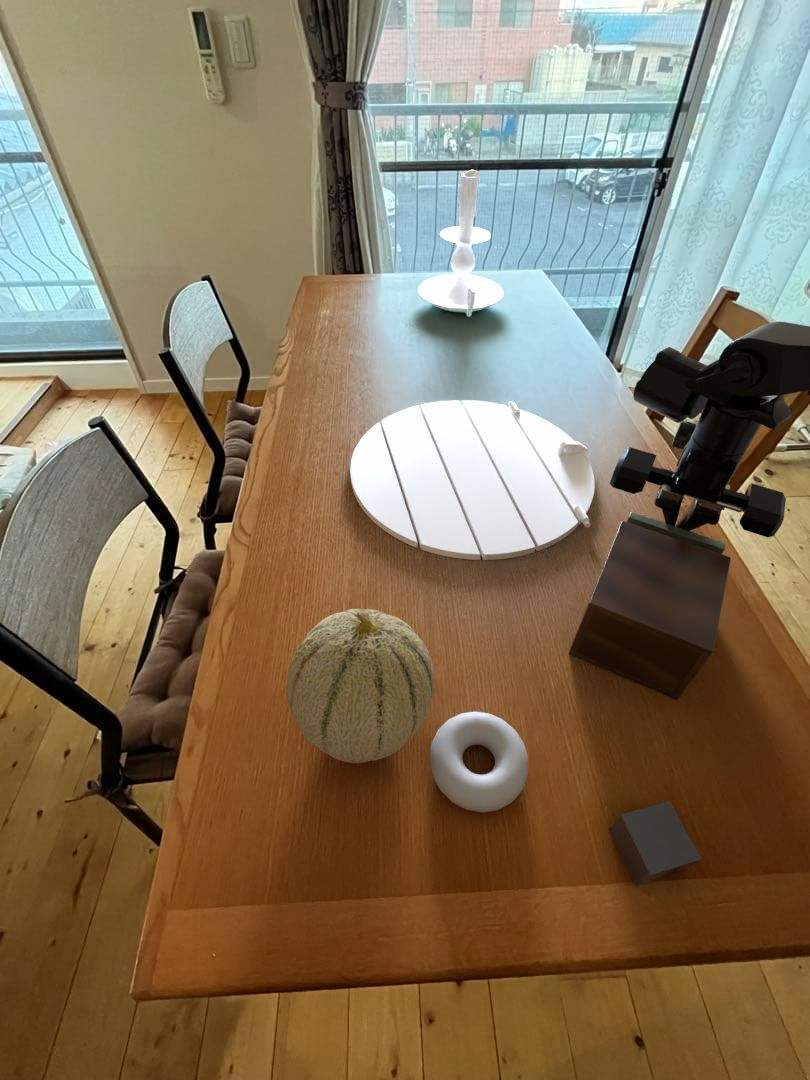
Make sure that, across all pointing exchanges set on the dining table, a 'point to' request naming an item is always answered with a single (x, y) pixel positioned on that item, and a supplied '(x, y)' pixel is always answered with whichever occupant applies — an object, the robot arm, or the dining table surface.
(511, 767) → the donut
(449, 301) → the candlestick
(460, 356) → the dining table surface
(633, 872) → the stand
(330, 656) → the cantaloupe
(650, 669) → the cabinet
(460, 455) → the lazy susan
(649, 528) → the drawer
